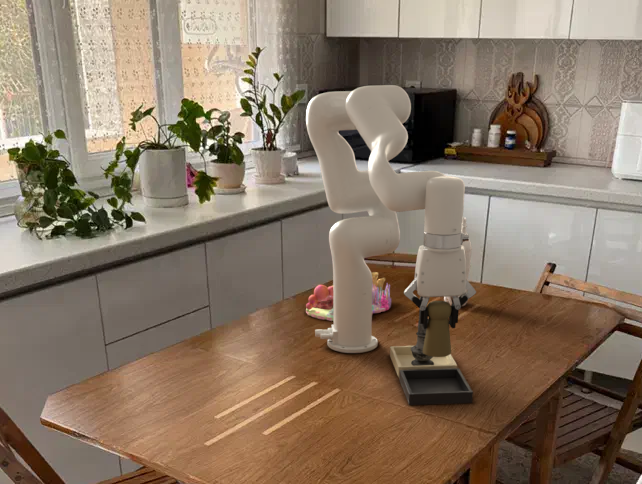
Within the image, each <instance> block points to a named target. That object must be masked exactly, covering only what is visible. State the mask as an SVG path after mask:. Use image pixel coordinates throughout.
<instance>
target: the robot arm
mask: <svg viewBox="0 0 642 484" xmlns="http://www.w3.org/2000/svg"><path fill="white" fill-rule="evenodd" d="M411 110H412V103H411V99H410V97H409V94H408V93H407V91H406V90H405V89H404V88H403V87H401V86H399V85H395V84H385V85H381V84H380V85H364V86H360V87H359V86H358V87H356V88H355V89H353V90H345V91H344V90H343V91H341V90H340V91H339V90H338V91H337V90H336V91H327V92H323V93H319V94H317V95H315V96H313V97H312V98H311V99H310V101H309V102H308V104H307V107H306V112H305V124H306V130H307V134H308V137H309V140H310V142H311V145H312V147H313V149H314V151H315V154H316V156H317V161H318V163H319V169H320V174H321V178H322V183H323V188H324V193H325V197H326V201H327V205H328V207H329V209H330V210H331V211H332V212H333V213H335V214H343V215H344V214H353V213H354V214H355V213H362V212H367V213H368V215H366V216H357V217H347V218H343V219H341V220H338V221H336V222H335V223H334V224H333V225H332V226H331V227H330V230H329V232H328V243H329V249H330V254H331V259H332V260H331V261H332V277H333V278H332V282H333V283H332V285H333V308H334V321H333V324H331V327H327V329H314V337H315V338H320V340H327V341H326V344H327V347H328V348H329V349H331V350H332V351H336V352H338V353H344V354H361V353H367V352H370V351H373V350H375V349H376V348H377V347H378V343H379V341H378V338H377V337H375V336H374V335H372V333H373V331H372V330H373V327H372V326H373V325H372V324H373V314H372V271H371V269H370V268H369V266H368V265H367V263H366V261H365V258H371V257H376V256H377V257H378V256H382V255H388V254H392V253H393V252H395V251H396V250H397V249H398V247H399V245H400V241H401V230H400V229H401V228H400V224H399V219H398V213H403V212H409V211H411V212H412V211H420V210H424V221H423V222H424V225H423V226H424V227H423V244H422V245H419V246H418V250H417V256H416V261H415V269H414V279H413V280H412V281H411V283H409V285H407V287H406V288H405V289H404V291H403V295H404V296H405V297H406V298H407V299H409V300H410V301H411V302H412V303H413V304H414V305H415V306H416V307H417V308H418V321H419V323H420V324H421V325H422V327H423V329H426V328H427V325H428V319H429V317H428V310H427V305H428V304H429V301H430V298H441V297H442V298H444V297H451V301H452V304H451V308H452V312H451V315H450V317H449V327H450V328H451V329H456V324H458V323H459V313H460V312H459V311H460V309H461V308H462V307H463V306H462V305H463V304H464V303H465V302H466V301H467V300H468V301H469V299H471V298H472V297H473V296H475V295H476V294H477V290H476V289H475V287H473V285H472V284H471V283H470V282H469V280H468V281H467V279H466V258H465V250H464V247H463V246H462V243H463V242H465V241H468V240H469V239H470V235H469V233H467V234H463V232H462V224H463V217H464V207H465V190H466V186H465V182H464V180H463V179H462V178H460V177H458V176H451V175H446V174H444V173H443V172H440V171H437V170H424V171H410V172H400V173H397V172H396V171H395V169H394V168H393V167H392V166H391V163H390V160H392V159H394V158H395V157H397V156H398V155H399V154H400V153H401V152H402V151H403V150H404V148H405V147H406V145H407V143H408V139H409V134H408V131H407V129H406V127H405V126H404V125H403V124H404V123H406V122H407V120H409V117H410V115H411ZM355 130H357V132H358V133H359V135H360V137H361V138H362V140H363V141H364V143H365V145H366V146H367V148H368V149H369V151H370V155H369V157H368V164H367V170H366V169H365V170H360V169H359V168H358V166H357V162H356V157H355V152H354V150H353V148H352V146H351V145H350V144H349V142H348V141H347V140H346V139H345V138H344V137H343V135H341V134H340V133H339V132H340V131H355ZM466 289H467V291H466V292H465V290H466ZM415 291H417V295H418V296H420V297H418V296H416V294H414V292H415ZM460 295H461V296H460ZM458 296H460V297H458ZM468 301H467V302H468Z"/></svg>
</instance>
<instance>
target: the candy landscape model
mask: <svg viewBox="0 0 642 484" xmlns="http://www.w3.org/2000/svg"><path fill="white" fill-rule="evenodd" d="M371 273H372V315H374V314H379V313H381V312H386V311H388V310H389V309H391V307H392V297H391V296H390V295H391V284H390V283H389V284H388V283H386V285H385V288H384V284H385V281H386V277H381V278H379V272H376V271H373V272H372V271H371ZM383 288H384V290H383ZM305 307H306V309H305V313H306V314H307V316H310V317H312V318H315V319H319V320H326V321H329V322H330V321H331V322H332V321H333V322H334V308H333V284H331V285H330V286H328V287H327V286H326V285H325V284H318V285H316V287H315V288H314V290H313V294H311V295H309V297H308V302H307V303H306V304H305Z"/></svg>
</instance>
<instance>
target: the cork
mask: <svg viewBox="0 0 642 484" xmlns="http://www.w3.org/2000/svg"><path fill="white" fill-rule="evenodd" d="M426 307H427V310H428V325H427V330H426V335H425V341H424V346H423V353H424V354H425V355H428V356H432V357H445V356H448V355H450V354H451V355H452V345H451V333H450V325H449V317H450V315H451V312H452V308H451V305H450V304H449V303H448V302H445V300H433V301H430V302H428V304H427V306H426Z"/></svg>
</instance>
